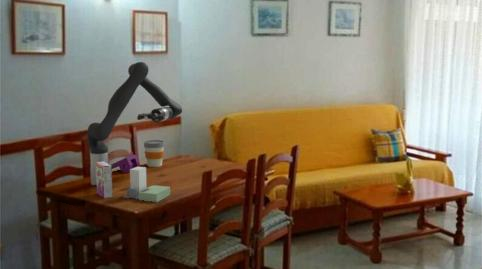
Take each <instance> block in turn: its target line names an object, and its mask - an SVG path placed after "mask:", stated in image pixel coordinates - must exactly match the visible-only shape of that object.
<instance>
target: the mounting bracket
mask: <svg viewBox="0 0 482 269" xmlns="http://www.w3.org/2000/svg"><path fill="white" fill-rule="evenodd" d="M110 165H111V168H112V169H116V168H118V167H119V169H120V171H121V172H122V173H125V174H127V173H130V169H133V168H135V167H141V166H140V160H139V158H138V155H137V154H133V155H130V156H129V155H128V156H126V157H123V158H122V159H120V160H118V161H116V162H113V163H112V164H110Z"/></svg>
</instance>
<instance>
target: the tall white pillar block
mask: <svg viewBox="0 0 482 269" xmlns="http://www.w3.org/2000/svg"><path fill="white" fill-rule="evenodd" d="M129 177H130V178H129V181H130V185H129V186H131V189H136V190H137V197H139V193H138V192H140V191H142V190H144V189H146V188H148V186H147V167H145V166H139V167H135V168H133V169H130V172H129Z"/></svg>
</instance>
